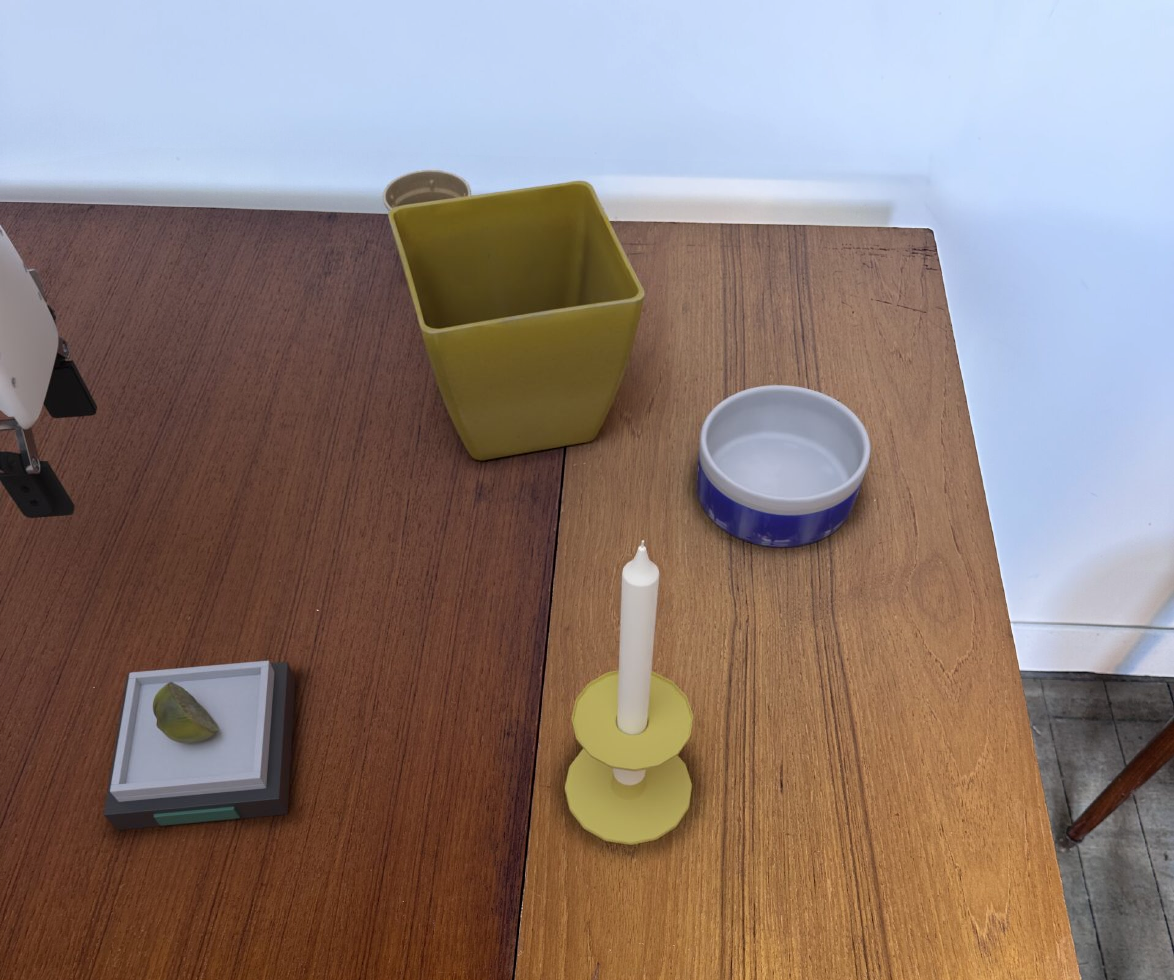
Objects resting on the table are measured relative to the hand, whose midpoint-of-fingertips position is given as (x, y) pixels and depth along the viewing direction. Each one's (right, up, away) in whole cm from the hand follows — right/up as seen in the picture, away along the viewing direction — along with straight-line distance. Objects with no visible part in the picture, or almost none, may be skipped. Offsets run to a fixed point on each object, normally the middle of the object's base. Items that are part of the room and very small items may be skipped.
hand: (63, 462), depth 66 cm
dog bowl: (+53, +6, +27) cm, 60 cm away
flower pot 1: (+19, +36, +45) cm, 61 cm away
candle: (+39, -22, +10) cm, 46 cm away
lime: (+5, -18, +10) cm, 21 cm away
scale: (+5, -19, +12) cm, 23 cm away
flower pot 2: (+29, +16, +33) cm, 47 cm away
